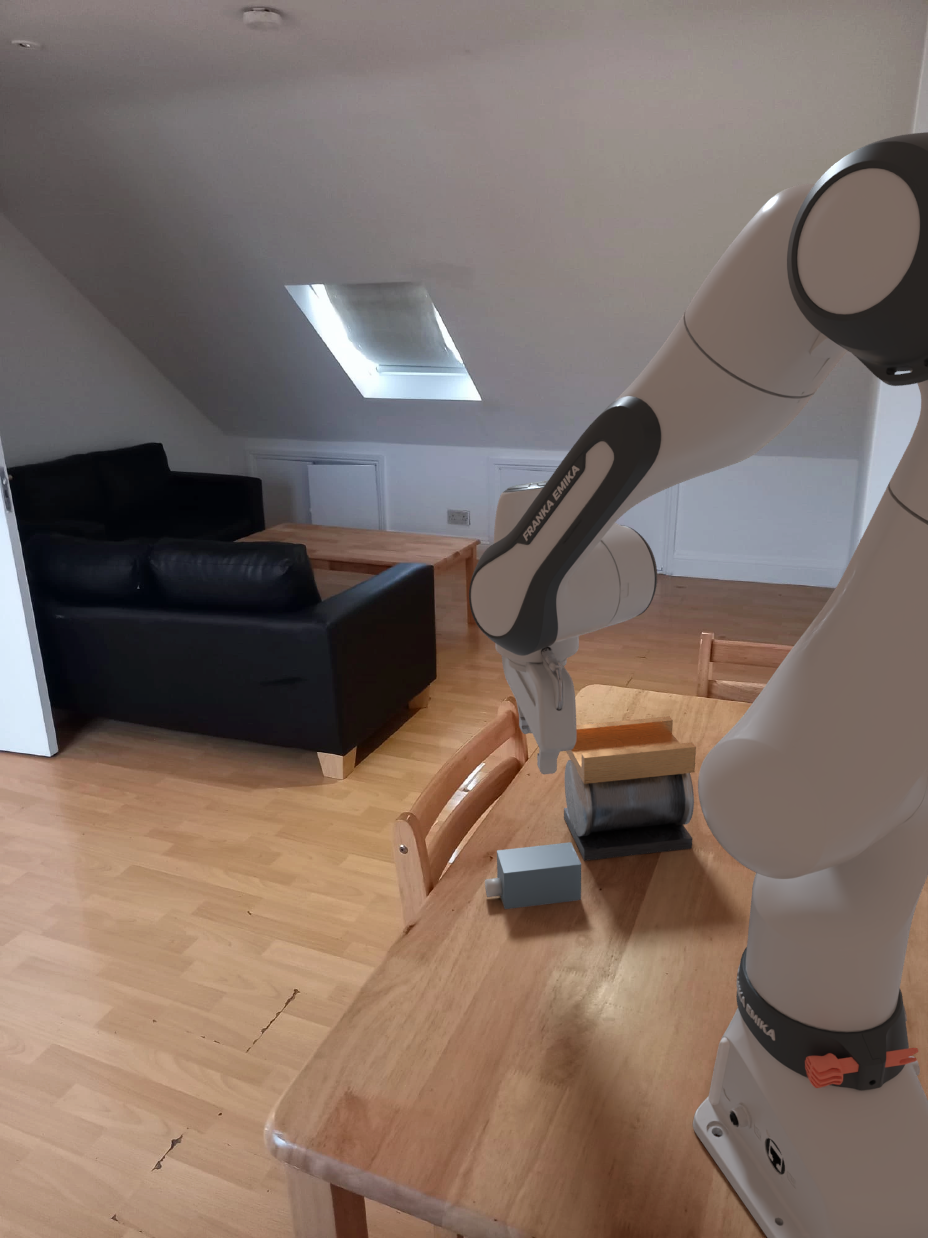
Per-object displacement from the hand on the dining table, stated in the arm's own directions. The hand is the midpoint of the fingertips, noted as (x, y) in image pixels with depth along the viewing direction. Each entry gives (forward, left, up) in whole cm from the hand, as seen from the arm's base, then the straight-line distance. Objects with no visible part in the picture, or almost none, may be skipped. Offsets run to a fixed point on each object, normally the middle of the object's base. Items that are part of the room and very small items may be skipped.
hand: (537, 750), depth 94 cm
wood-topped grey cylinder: (+10, -14, -19) cm, 25 cm away
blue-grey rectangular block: (0, 0, -19) cm, 19 cm away
